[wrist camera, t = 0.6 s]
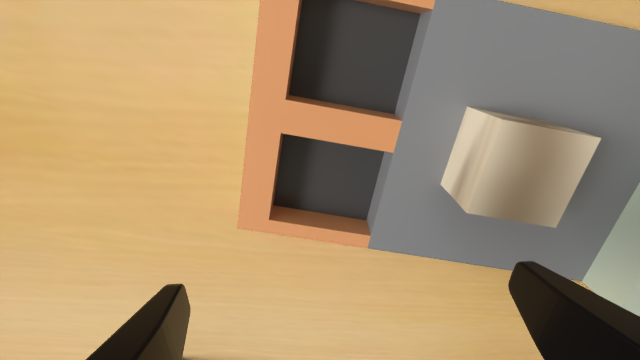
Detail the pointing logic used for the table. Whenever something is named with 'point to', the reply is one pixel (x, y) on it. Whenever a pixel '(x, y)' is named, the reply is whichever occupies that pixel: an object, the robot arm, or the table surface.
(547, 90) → the trap deck
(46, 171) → the table surface
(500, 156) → the birch block
